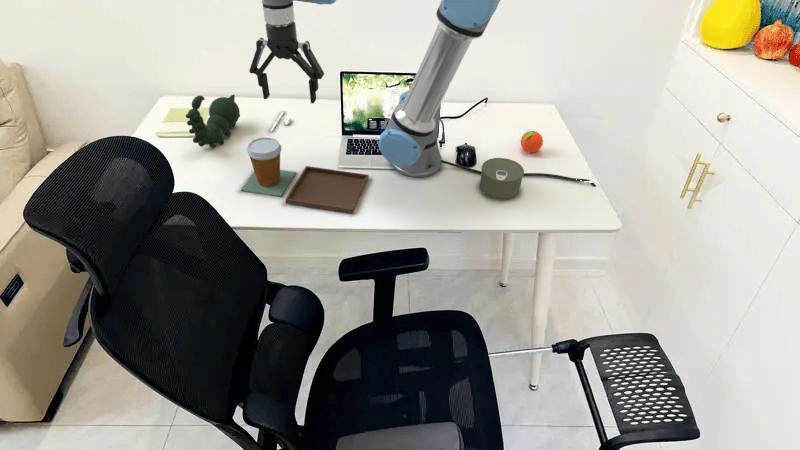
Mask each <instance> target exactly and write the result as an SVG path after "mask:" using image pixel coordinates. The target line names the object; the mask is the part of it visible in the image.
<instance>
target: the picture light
mask: <svg viewBox="0 0 800 450" xmlns="http://www.w3.org/2000/svg"><path fill="white" fill-rule="evenodd" d="M284 113H285V111H282V112H281V113H280V115H279V116H278V117H277V118H276V120H275V123H274V124H273V126H272V127H271V128H270V132H273V131H274V129H275V128H276V126H277V125H278V124H279V121H280V120H281V119H282V120H283V122H284V125H285V126H287V125H289V123H290V122H291V117H287V118H285V117H284V116H283V115H284Z"/></svg>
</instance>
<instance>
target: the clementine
mask: <svg viewBox="0 0 800 450" xmlns="http://www.w3.org/2000/svg"><path fill="white" fill-rule="evenodd" d="M520 145H521V148H522V150H524V151H525V152H526V153H529V154H534V153H536V152H538V151H539V150H541V148H542V147H543V145H544V139H543V136H542V134H541V133H540V132H538V131H535V130H529V131H527V132H525V133H524V134H523V135H522V136H521V138H520Z"/></svg>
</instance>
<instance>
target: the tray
mask: <svg viewBox="0 0 800 450" xmlns="http://www.w3.org/2000/svg"><path fill="white" fill-rule="evenodd" d="M368 181H369V174H366V173H359V172H353V171H352V172H351V171H345V170H337V169H330V168H323V167H316V166H309V165H306V166H305V167H304V168H303V170H302V172H301V174H300V175H299V177H298V178H297V180H296V182H295V183H294V185H293V186H292V188H291V190H290V191H289V193H288V195H287V196H286V197H285V204H286V205H292V206H298V207H305V208H311V209H317V210H324V211H330V212H337V213H343V214H344V213H345V214H350V215H351V214H352V215H353V214H354V212H355V211H356V208H357V205H358V204H359V201H360V199H361V197H362V194H363V192H364V190H365V188H366V185H367V184H368Z"/></svg>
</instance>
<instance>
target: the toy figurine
mask: <svg viewBox="0 0 800 450" xmlns="http://www.w3.org/2000/svg"><path fill="white" fill-rule="evenodd" d="M235 95H236V94H232V95H230V96H228V97H226V96H220V97H217V98H216V99H214V100H213V101H212V102H211V103H210V105H209V108H208V115H209V117H208V118H207V121H206V123H205V122H204V118H203V116H201V112H200V111H199V109H200V108H201V105H202V102H203V101H205V99H206V97H204V96H203V95H196V96H195V97H194V98H193V99H192V101H191V109H189V110H188V112H187V113H186V114H185V118H186V119H189V120H187V121H186V124H187V126H191V128H190V129H189V130H188V133H189V134H192V135H194V137H193V138H192V142H193V143H194V144H197V145H198V146H199V147H204V146H206V145H208V146H209V148H210V149H215V148H216V147H217V144H219V145H223V144H225V139H224V137H228V138H229V137H230V136H232V130H231V129H233V128H234V127H236V125H237V122H238V120H239V118H240V116H241V113H240V107H239V106H238V104H237V103H236V101H235V100H236V96H235ZM216 143H217V144H216Z"/></svg>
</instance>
